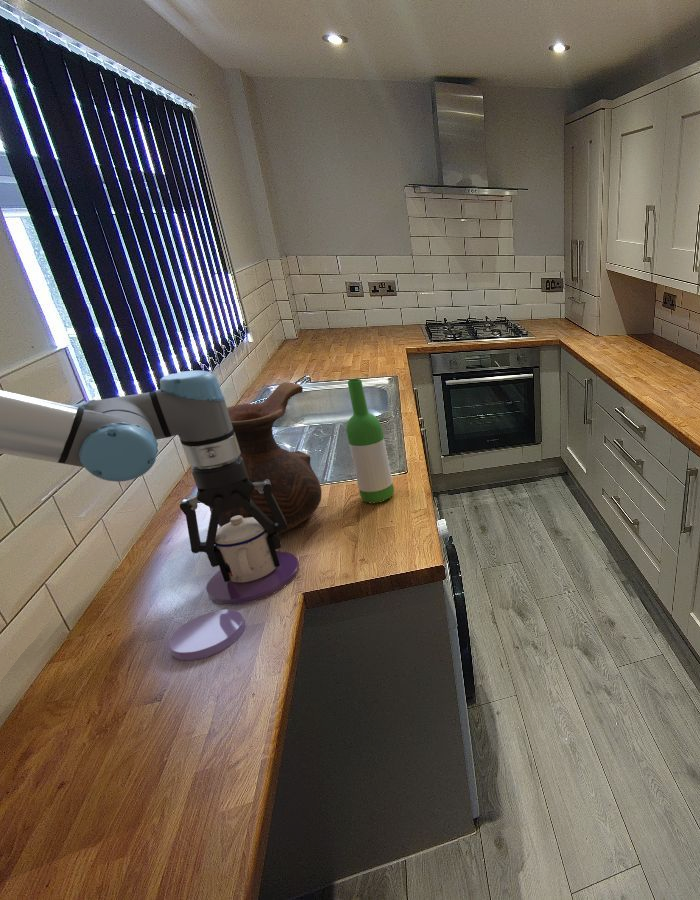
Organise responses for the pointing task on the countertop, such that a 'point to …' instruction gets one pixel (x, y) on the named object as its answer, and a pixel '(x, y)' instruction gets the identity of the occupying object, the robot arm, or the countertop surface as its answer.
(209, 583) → the saucer
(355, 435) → the wine bottle
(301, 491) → the jug
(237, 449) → the robot arm
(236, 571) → the teacup with lid
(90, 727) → the countertop surface
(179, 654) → the lilac dish
